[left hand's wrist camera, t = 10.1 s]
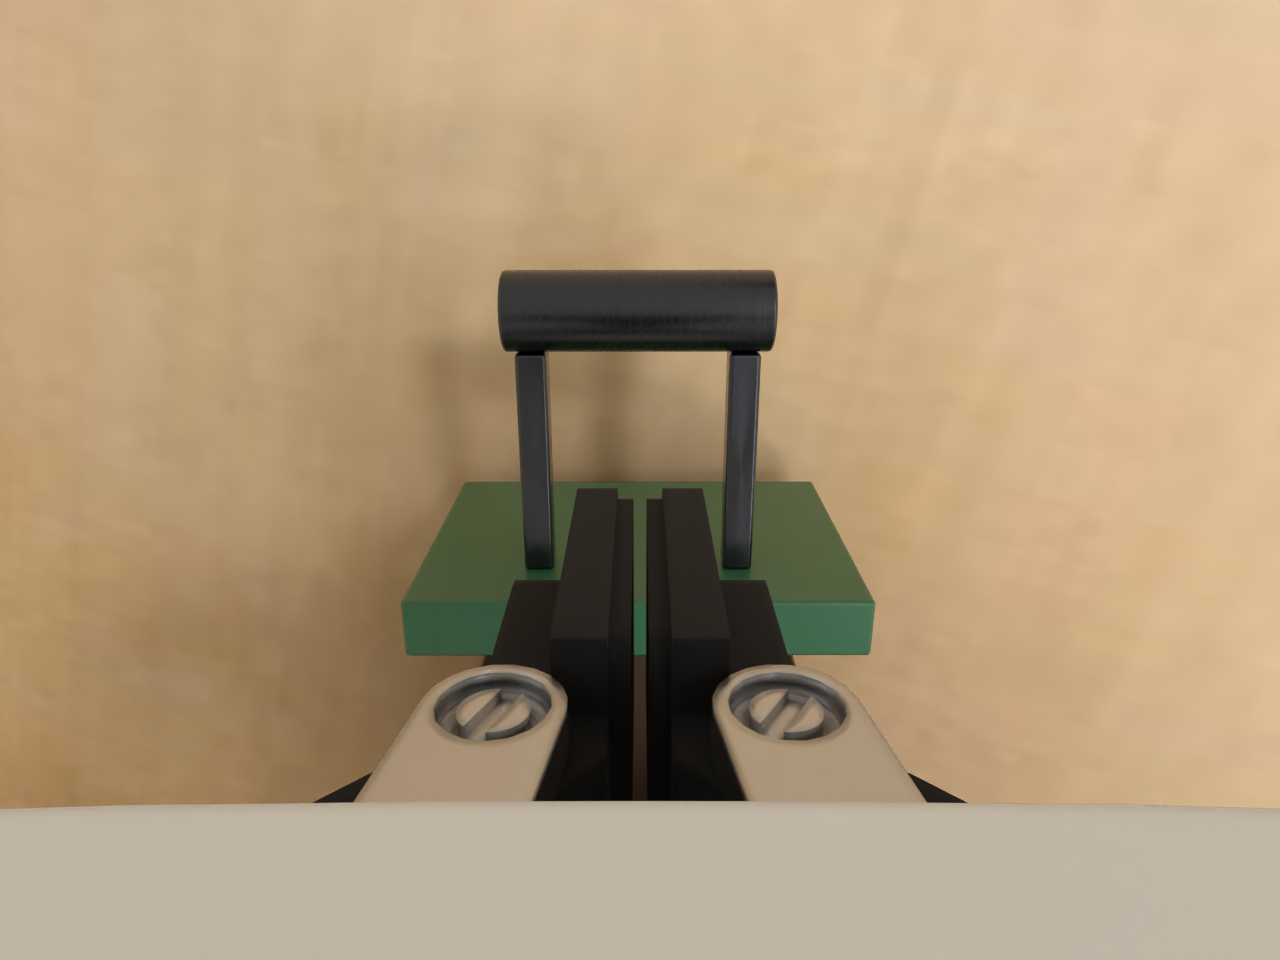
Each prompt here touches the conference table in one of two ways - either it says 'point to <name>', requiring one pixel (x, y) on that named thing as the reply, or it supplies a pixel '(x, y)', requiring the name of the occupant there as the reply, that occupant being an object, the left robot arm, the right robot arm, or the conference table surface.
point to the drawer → (542, 509)
